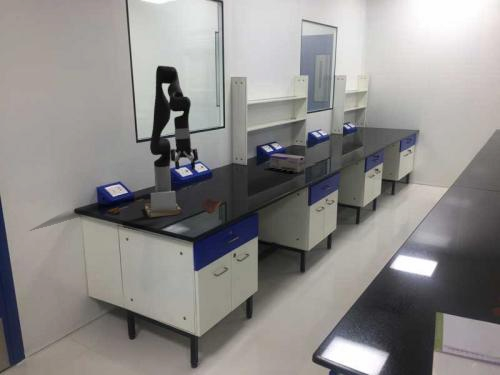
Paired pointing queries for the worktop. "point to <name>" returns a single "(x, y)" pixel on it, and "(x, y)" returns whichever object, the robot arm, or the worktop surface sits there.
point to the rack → (161, 213)
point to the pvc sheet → (163, 201)
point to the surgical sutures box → (287, 162)
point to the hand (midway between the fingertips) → (185, 169)
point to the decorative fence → (116, 210)
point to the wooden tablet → (211, 205)
